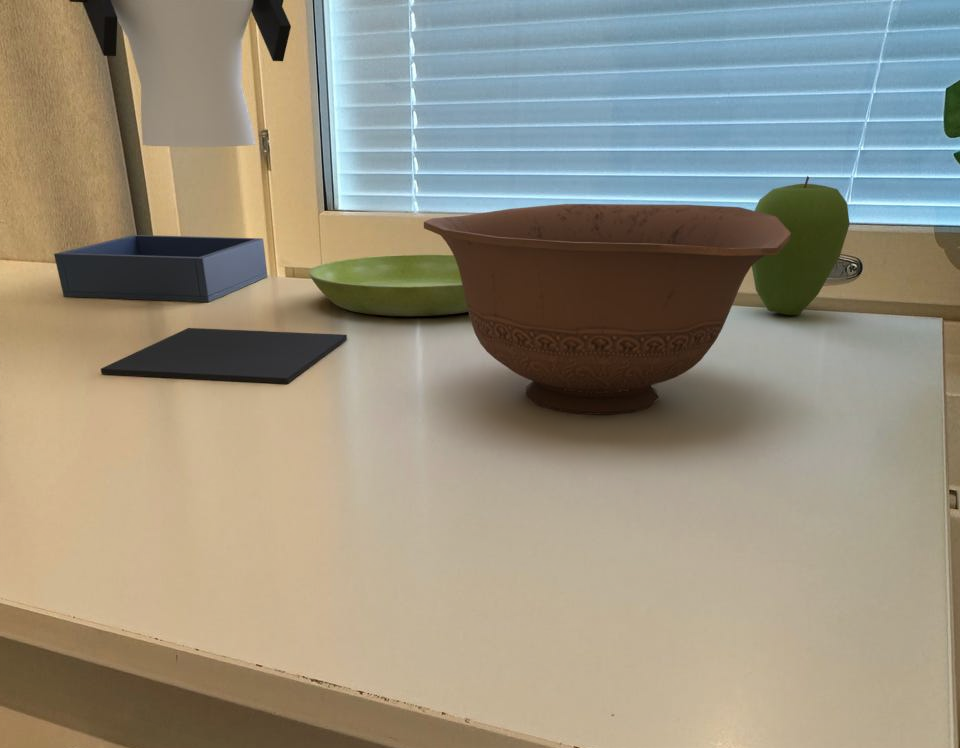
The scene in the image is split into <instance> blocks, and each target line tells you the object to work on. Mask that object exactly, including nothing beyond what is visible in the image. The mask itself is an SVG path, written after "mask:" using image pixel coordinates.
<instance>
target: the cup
mask: <svg viewBox="0 0 960 748" xmlns="http://www.w3.org/2000/svg"><path fill="white" fill-rule="evenodd" d="M111 3H112V5H113V8H114V10H115V12H116V15H117V17H118V19H117V23H118V24H119V25H120V27H121V29H122V31H123V32H124V34H125V36H126V38H127V40H128V44H129V47H130V51H131V54H132V58H133V61H134V65H135V68H136V69H135V70H136V72H137V76H138V80H139V83H140V116H141V117H140V119H141V120H140V121H141V122H140V123H141V125H140V126H141V138H142V145H143V146H148V147H149V146H150V147H177V148H178V147H181V148H182V147H185V148H186V147H187V148H189V147H191V148H194V147H195V148H197V147H199V148H200V147H201V148H203V147H207V148H209V147H210V148H211V147H212V148H213V147H241V146H243V147H245V146H255V145H256V137H255V134H254V129H253V124H252V120H251V116H250V113H249V109H248V108H249V107H248V104H247V100H246V97H245V93H244V89H243V80H242V79H243V73H242V72H243V71H242V70H243V69H242V67H243V64H242V63H243V62H242V61H243V60H242V59H243V56H242V55H243V52H242V51H243V47H242V46H243V43H242V41H243V39H244V35H245V32H246V29H247V26H248V22H249V19H250V15H251V14H252V12H251V9H252V6H253V0H111Z"/></svg>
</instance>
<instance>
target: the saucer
mask: <svg viewBox="0 0 960 748" xmlns="http://www.w3.org/2000/svg"><path fill="white" fill-rule="evenodd" d="M308 275H309V276H310V278H311V280H312V281H313V283H314V285H315V286H316V287H317V288H318V289H319V291H320V292H321V293H322V294H323V295H324V296H325V297H326V298H327V299H328V300H329V301H330V302H332V303H333V304H334V305H335V306H337V307H338V308H341V309H343V310H346V311H350V312H354V313H358V314H366V315H373V316H385V317H433V316H434V317H435V316H436V317H437V316H447V315H457V314H464V313H465V314H466V313H469V312H468V308H467V303H466V299H465V294H464V289H463V284H462V280H461V276H460V272H459V268H458V265H457V262H456V259H455V257H454V255H453V254H397V255H395V254H394V255H380V256H379V255H377V256H368V257H358V258H350V259H342V260H337V261H331V262H326V263H322V264H320V265H316V266H314V267H312V268H311V269H310V270H309V271H308Z"/></svg>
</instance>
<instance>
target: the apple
mask: <svg viewBox="0 0 960 748" xmlns="http://www.w3.org/2000/svg"><path fill="white" fill-rule="evenodd" d="M809 179H810V176H809V175H807V176H806V178H805V182H804V183H796V184H791V185H786V186H785V185H784V186H780V187H776V188H773V189H771V190H770V191H769V192H768V193H766V194H765V195H764V196H762V197H761V198H760V199H759V200H758V201H757V204H756V206H755V208H754V211H757V212H761V213H765V214H769V215H773V216H776V217H777V218H778V219H779V220H780V221H781V222H782V224H783V225H784V226H785V227H786V228H787V229H788V230H789V232H790V233H791V236H790V240H789V241H788V242H787V243H786V245H785V246H784V247H783V248H782V249H781V250H780V251H779V252H778V253H777V254H776V255H766V256H764V257H762V258H760V259H759V260H758V261H756V262H755V263H754V264H753V265H752V266H751V269H752V271H751V272H752V276H753V281H754V288H755V291H756V293H757V294H758V296H759V298H760V300H761V301H762V303H763V304H764V306H765V308H766V309H767V310H768V311H769V312H773V313H779V314H783V315H787V316H797V315H801V314H802V313H803V312H804V310H805V309H806V308H808V306H809V305H810V304H811V303H812V302H813V301H814V300H815V298H816V297H817V296H818V295H819V294H820V292H821V290H822V288H823V287H824V285H825V283H826V282H827V280H828V278H829V276H830V275H831V273H832V271H833V269H834V268H835V266H836V264H837V263H838V261H839V259H840V257H841V253H842V250H843V247H844V244H845V241H846V237H847V235H848V231H849V227H850V225H851V224H850V223H851V222H850V217H849V215H850V214H849V207H848V202H847V201H846V199H845V198H844V196H843V195H842V194H841V192H840V191H839V189H837V188H834V187H830V186H826V185H821V184H814V183H808V182H809V181H810V180H809Z"/></svg>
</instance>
